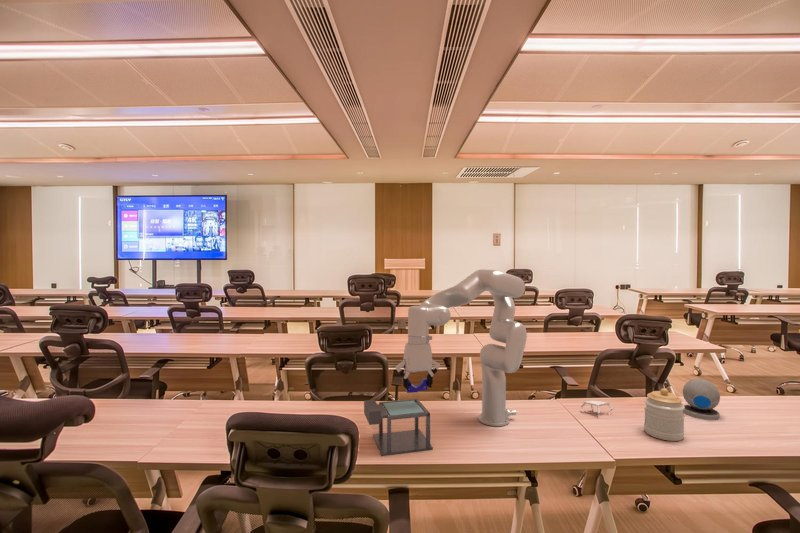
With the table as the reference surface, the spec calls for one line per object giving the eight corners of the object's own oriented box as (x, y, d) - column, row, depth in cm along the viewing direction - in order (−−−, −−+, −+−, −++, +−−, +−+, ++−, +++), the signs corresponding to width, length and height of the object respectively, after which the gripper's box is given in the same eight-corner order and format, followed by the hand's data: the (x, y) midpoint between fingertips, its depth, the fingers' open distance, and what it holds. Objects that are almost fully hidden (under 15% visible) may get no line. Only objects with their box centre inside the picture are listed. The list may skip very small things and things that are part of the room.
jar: (689, 444, 147) (690, 395, 147) (649, 439, 151) (650, 392, 151) (677, 429, 160) (677, 384, 159) (639, 425, 164) (640, 381, 163)
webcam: (717, 412, 177) (718, 378, 177) (721, 422, 167) (722, 386, 166) (681, 406, 184) (682, 373, 184) (683, 415, 173) (683, 380, 173)
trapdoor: (413, 407, 155) (413, 395, 155) (423, 419, 144) (423, 407, 143) (363, 412, 150) (363, 400, 150) (369, 425, 139) (369, 412, 139)
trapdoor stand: (419, 431, 158) (419, 398, 158) (432, 449, 143) (433, 413, 142) (373, 436, 153) (373, 402, 153) (381, 456, 138) (381, 418, 138)
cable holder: (407, 392, 147) (407, 381, 147) (405, 389, 150) (405, 379, 150) (428, 391, 149) (428, 380, 148) (426, 388, 152) (426, 377, 152)
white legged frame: (591, 418, 170) (591, 407, 170) (580, 411, 179) (580, 400, 179) (617, 417, 172) (617, 405, 172) (605, 409, 180) (605, 398, 180)
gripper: (437, 336, 153) (436, 382, 154) (392, 339, 149) (392, 386, 149) (444, 340, 146) (444, 389, 147) (397, 343, 142) (397, 393, 142)
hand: (417, 387), depth 148 cm, fingers closed on cable holder, 8 cm apart
